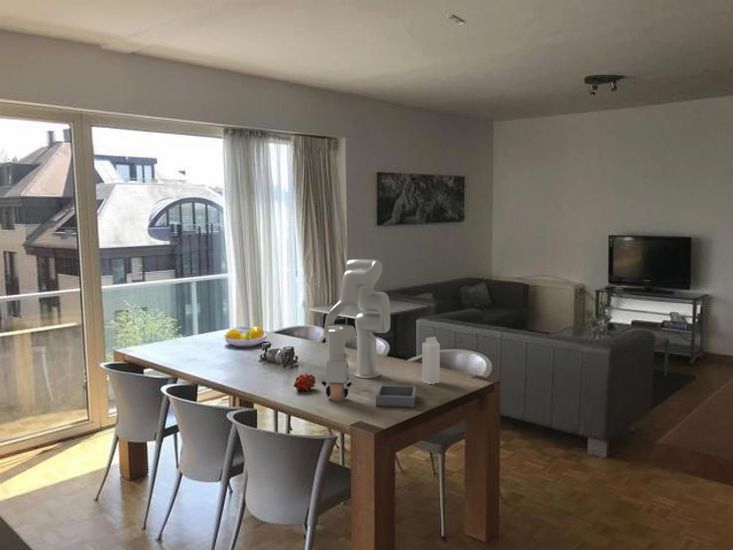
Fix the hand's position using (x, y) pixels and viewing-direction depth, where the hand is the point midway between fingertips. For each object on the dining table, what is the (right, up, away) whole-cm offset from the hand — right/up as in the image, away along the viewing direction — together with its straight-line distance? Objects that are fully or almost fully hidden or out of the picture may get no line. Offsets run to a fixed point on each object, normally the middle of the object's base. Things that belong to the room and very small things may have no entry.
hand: (337, 396), depth 260 cm
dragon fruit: (-15, 0, +12) cm, 20 cm away
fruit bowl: (-61, +10, +104) cm, 121 cm away
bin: (+26, -1, -3) cm, 26 cm away
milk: (+44, +2, +23) cm, 49 cm away
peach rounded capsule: (0, -1, 0) cm, 1 cm away
